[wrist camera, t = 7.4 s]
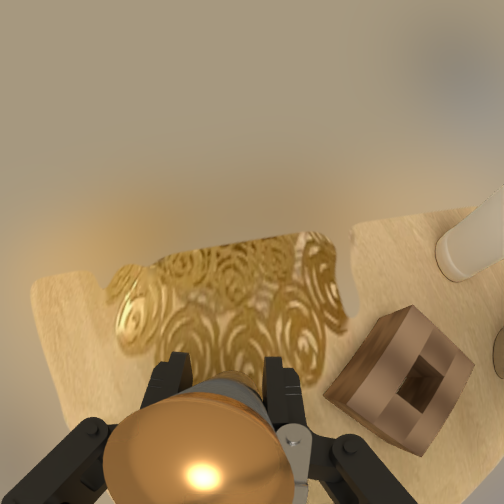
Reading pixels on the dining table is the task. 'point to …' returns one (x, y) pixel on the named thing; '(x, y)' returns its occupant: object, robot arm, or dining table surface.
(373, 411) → the brown cube with hole
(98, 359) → the dining table surface
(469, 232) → the bottle
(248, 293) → the dining table surface
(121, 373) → the dining table surface
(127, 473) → the pin
